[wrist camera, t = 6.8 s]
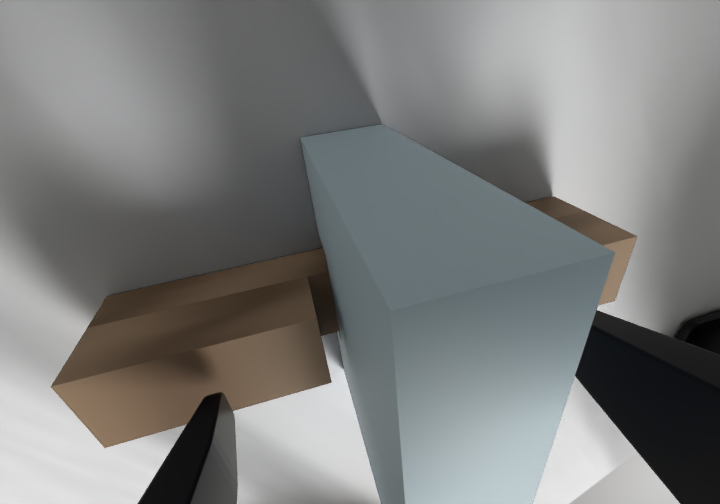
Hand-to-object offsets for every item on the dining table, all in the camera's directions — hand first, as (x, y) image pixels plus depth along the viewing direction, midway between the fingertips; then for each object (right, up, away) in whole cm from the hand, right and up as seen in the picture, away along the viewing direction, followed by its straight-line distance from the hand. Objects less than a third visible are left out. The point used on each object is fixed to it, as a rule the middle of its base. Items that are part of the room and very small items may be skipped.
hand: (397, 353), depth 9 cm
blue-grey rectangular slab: (-1, +2, +4) cm, 4 cm away
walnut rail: (-1, +2, +4) cm, 4 cm away
